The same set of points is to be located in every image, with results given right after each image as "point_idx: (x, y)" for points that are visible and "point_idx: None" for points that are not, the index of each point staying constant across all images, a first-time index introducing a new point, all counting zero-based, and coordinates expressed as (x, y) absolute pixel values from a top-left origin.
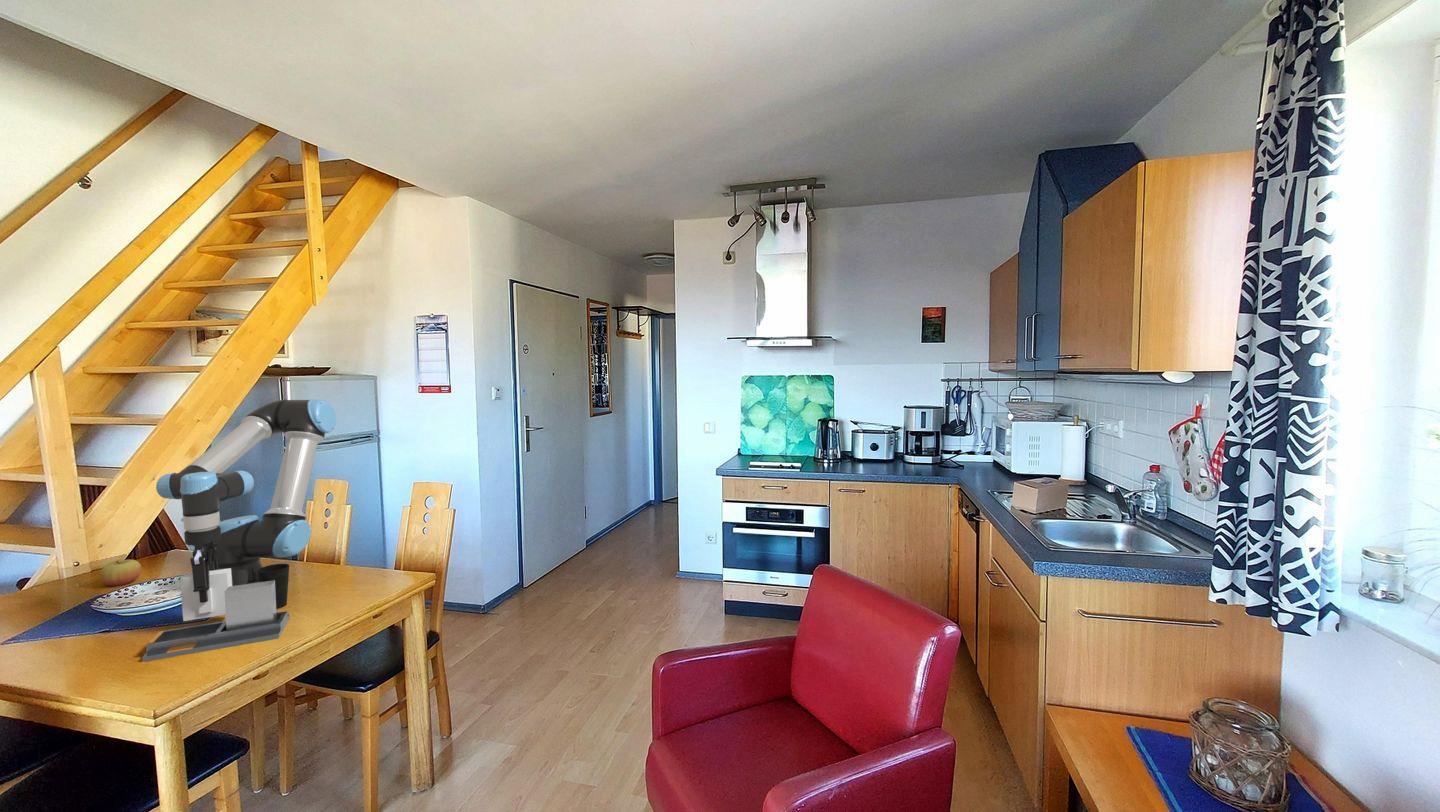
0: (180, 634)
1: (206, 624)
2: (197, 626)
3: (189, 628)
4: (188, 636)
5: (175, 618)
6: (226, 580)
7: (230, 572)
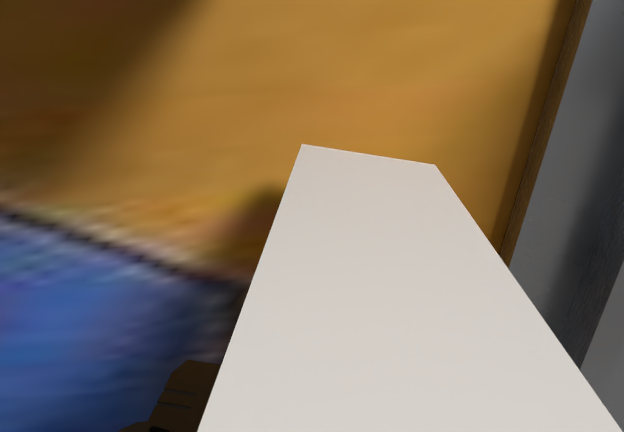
0: None
1: (620, 306)
2: (615, 354)
3: (597, 392)
4: (616, 366)
5: (106, 426)
6: (588, 398)
7: (291, 412)
